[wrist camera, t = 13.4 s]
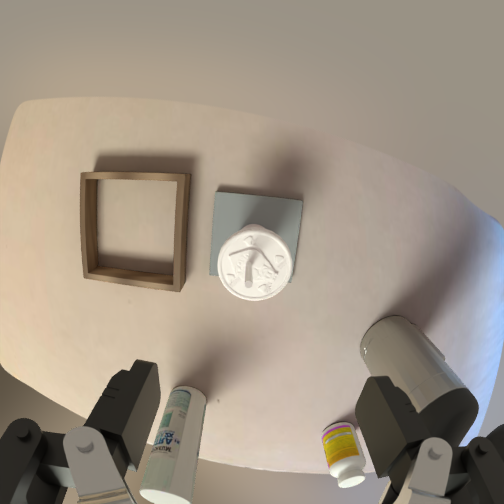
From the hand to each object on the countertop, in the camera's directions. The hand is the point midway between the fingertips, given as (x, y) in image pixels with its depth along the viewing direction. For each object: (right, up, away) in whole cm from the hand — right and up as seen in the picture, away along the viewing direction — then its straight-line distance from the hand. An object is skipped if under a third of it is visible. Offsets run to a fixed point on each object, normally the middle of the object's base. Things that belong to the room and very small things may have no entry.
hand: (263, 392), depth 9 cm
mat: (0, +7, +24) cm, 25 cm away
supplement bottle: (+16, -29, +35) cm, 48 cm away
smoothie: (0, +7, +24) cm, 24 cm away
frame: (-15, +8, +24) cm, 29 cm away
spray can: (-11, -19, +32) cm, 39 cm away
